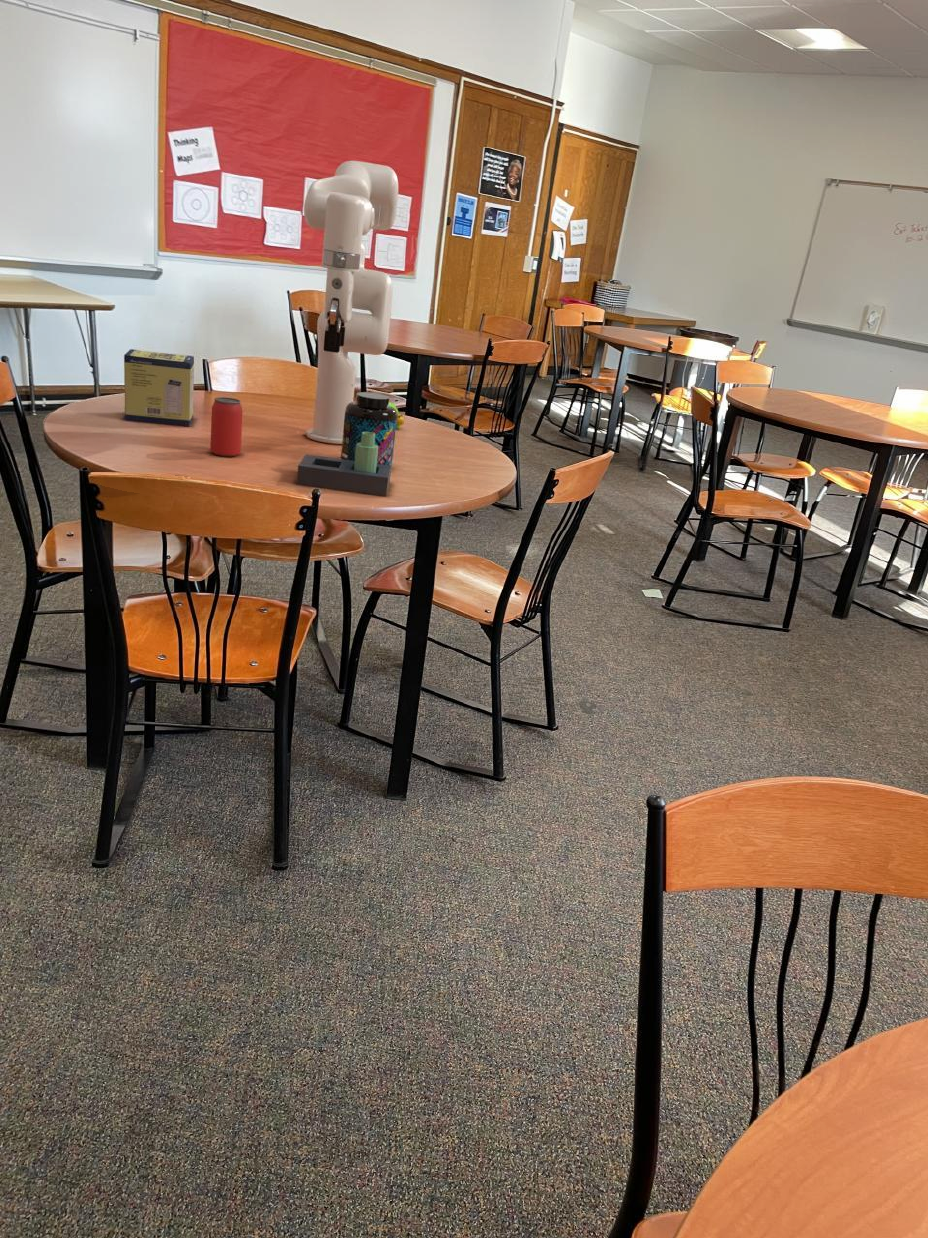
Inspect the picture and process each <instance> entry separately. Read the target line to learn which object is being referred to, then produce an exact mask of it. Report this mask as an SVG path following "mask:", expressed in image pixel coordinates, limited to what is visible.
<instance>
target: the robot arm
mask: <svg viewBox="0 0 928 1238" xmlns="http://www.w3.org/2000/svg"><path fill="white" fill-rule="evenodd" d="M398 200H399V180H398V176H397V173H396V172H395V170H394V169H393V168H392V167H390V166H389V165H383V164H376V163H371V162H366V161H360V160H346V161H344V162H342V163H340V165H339V166H338V167H337V168H336V170H335V173H334V175H333V176H330V177H324V178H319V179H315V181H313V182H312V183H311V184H310V185H309V187H308V190H307V192H306V195H305V199H304V202H303V203H304V204H303V205H304V206H303V216H304V220H305V222H306V224H307V226H308V227H310V228H311V229H314V230H317V231H324V232H323V245H322V246H323V247H322V258H321V267H322V268H325V269H327V270H326V279H325V280H326V281H325V295H324V310H323V311H322V312H321V313H320V314H319V316H318V318H317V323H316V328H317V329H316V332H317V347H318V349H317V351H318V352H317V353H318V354H317V355H318V356H317V370H316V371H317V372H316V386H315V399H314V411H313V426H312V428H310V429H307V430H306V437H307V438H309V439H311V440H313V441H315V442H321V443H325V444H333V445H342V440H343V429H344V418H345V409H346V406H347V405H348V404H349V403H351V402H354V399H355V390H356V389H355V388H356V377H357V372H356V371H357V370H356V367H355V364H354V362H353V361H352V360H351V358H350V356H349V355H348V353H356V354H362V355H363V354H364V355H371V356H381V355H383V354H384V353H385V352H386V351H387V348H388V344H389V337H390V327H391V315H392V305H393V282H392V279H391V277H390V275H388V274H387V273H386V272H383V271H379V270H375V269H367V268H365V261H366V248H365V245H364V243H363V242H362V241H363V236H366V235H367V234H369V232H370V230H377V231H389V230H391V228H392V227H393V226H394V224H395V222H396V219H397V218H396V217H397V207H398ZM353 309H354V310H360V311H361V310H362V311H368V312H370V313H368V312H367V313H366V312H360V311H354V310H353Z"/></svg>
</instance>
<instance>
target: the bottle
mask: <svg viewBox="0 0 928 1238" xmlns="http://www.w3.org/2000/svg"><path fill="white" fill-rule="evenodd" d="M378 447H379V446H377V445H375V434H374V433H371V432H362V437H361V443H357V444H356V454H355V464H354V470H356V471H363V472H371V473H376V466H377V456H378Z"/></svg>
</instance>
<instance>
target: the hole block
mask: <svg viewBox="0 0 928 1238" xmlns="http://www.w3.org/2000/svg"><path fill="white" fill-rule="evenodd" d="M354 464H355V461H351V460H344V459H341V458H336V457H330V456H321V455H314V454H307V453H306V454H305V455H304V456H303V458H302V459H301V460H300V462H299V464H298V465H297V477H296V485H298V486H299V485H301V486H307V487H314V488H321V489H329V490H337V491H345V492H352V493H357V494H358V493H359V494H366V495H374V496H382V497H387V495H388V491H389V487H390V482H391V472H392V465H391V466H387V465H380V464H377V466H376V473H371V472H363V471H356V470H354Z"/></svg>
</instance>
